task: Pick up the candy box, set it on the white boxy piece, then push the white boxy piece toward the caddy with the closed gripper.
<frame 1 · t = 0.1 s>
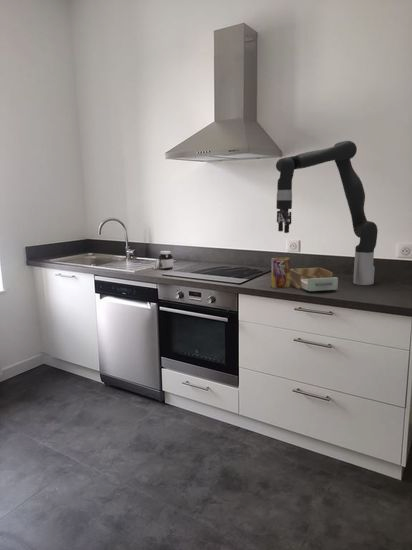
hand: (283, 232, 206), 29 cm above the worktop, fingers open, 8 cm apart
candy box: (280, 287, 215), on the worktop
spread jar: (162, 269, 269), on the worktop
caddy: (309, 285, 217), on the worktop
white boxy piece: (318, 281, 206), point 4 cm above the worktop, slide at 8.0 cm
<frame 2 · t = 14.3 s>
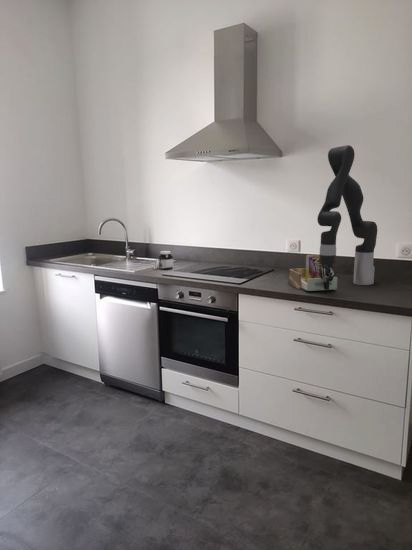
hand: (326, 289, 198), 2 cm above the worktop, fingers closed
candy box: (314, 284, 211), point 2 cm above the worktop, touching white boxy piece
white boxy piece: (317, 281, 207), point 4 cm above the worktop, slide at 7.4 cm, touching candy box, gripper
everything else where it was.
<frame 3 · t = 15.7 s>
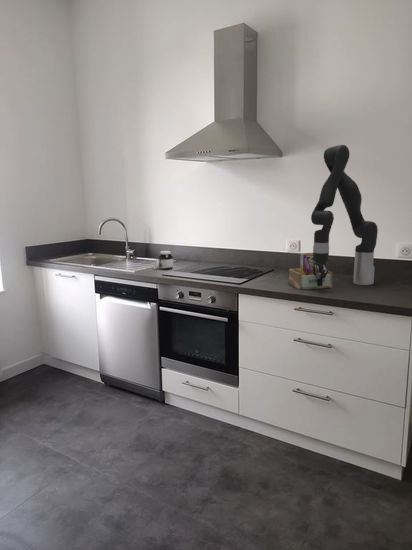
hand: (319, 285, 205), 2 cm above the worktop, fingers closed
candy box: (309, 281, 218), point 2 cm above the worktop, touching white boxy piece
white boxy piece: (311, 278, 214), point 4 cm above the worktop, slide at 0.2 cm, touching candy box, gripper
everything else where it was.
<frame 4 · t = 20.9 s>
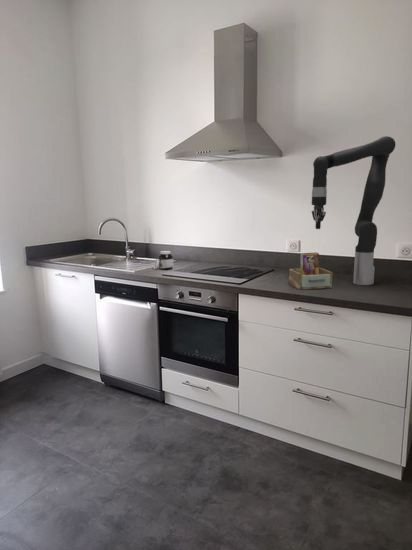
hand: (317, 228, 220), 29 cm above the worktop, fingers closed
white boxy piece: (311, 278, 214), point 4 cm above the worktop, slide at 0.0 cm, touching candy box
everything else where it was.
at the end: white boxy piece slide at 0.0 cm; candy box inside the target area on the caddy (1.7 cm from its centre), point 1.7 cm above the caddy's base; candy box tilted 0° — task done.
